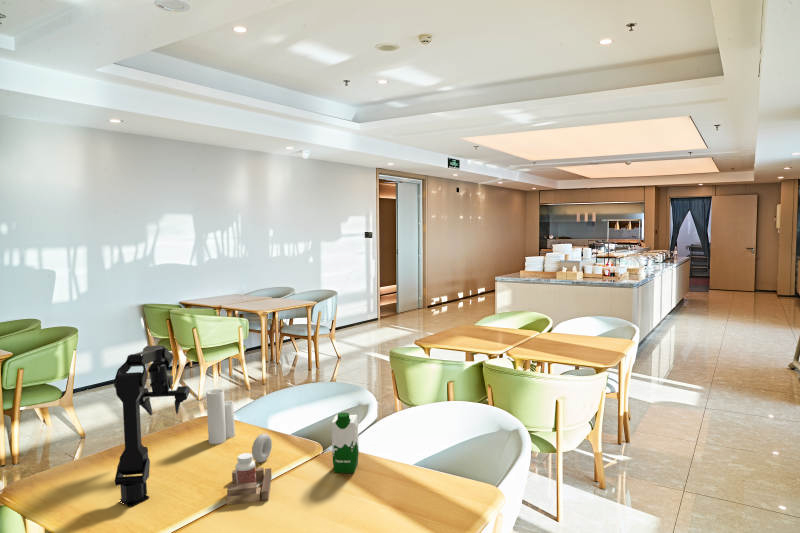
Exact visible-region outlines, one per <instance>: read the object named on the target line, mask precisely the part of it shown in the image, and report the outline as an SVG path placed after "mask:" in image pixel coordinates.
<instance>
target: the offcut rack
mask: <svg viewBox="0 0 800 533" xmlns="http://www.w3.org/2000/svg"><path fill="white" fill-rule="evenodd" d="M255 469H256V482H252V483H241V484H236V469H232V472H231V479H232V480H231V481H232V482H231V484H228V486H227V490H226V495H225V504H226V505H235V504H237V505H238V504H246V503H257V502H265V501H266V502H267V501H269V500H270V491H271V490H270V489H271V485H272V484H271V483H272V476H273V475H272V468H271V467H269V468H264V467H255ZM259 481H262V486H261V487H259V486H258V483H257V482H259Z"/></svg>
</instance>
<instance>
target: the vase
mask: <svg viewBox="0 0 800 533" xmlns="http://www.w3.org/2000/svg"><path fill="white" fill-rule="evenodd" d="M205 394H206V412H207V413H206V414H207V435H208V444H210V445H220V444H223V442H224V443H225V442H226V441H227V439H226V438H228V439H232V438H234V437H235V436H236V430H235V429H236V427H235V407H234V403H235V402H234V401H233V400H226V401H225V390H224V389H218V388H217V389H209V390H207V391H206V393H205ZM233 436H234V437H233ZM231 437H232V438H231Z"/></svg>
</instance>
